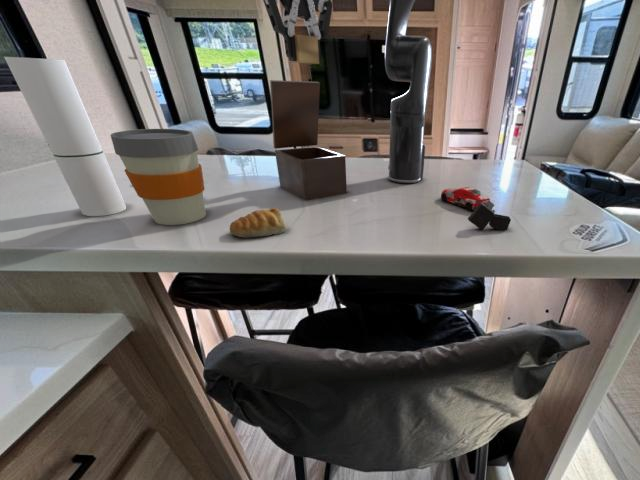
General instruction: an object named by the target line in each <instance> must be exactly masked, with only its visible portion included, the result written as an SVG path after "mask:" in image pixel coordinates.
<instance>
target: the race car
mask: <svg viewBox="0 0 640 480" xmlns="http://www.w3.org/2000/svg"><path fill="white" fill-rule="evenodd" d="M440 194H441V195H440V199H441V201H442V202H444V203H446V202H449V203H451V204H454V205H457V206H459V207H463V208H465V209H466V210H467V211H469V212H470V211H475V209H476V208H477V207H478V205H479V204H480V203H482V204H484V205H485V203H486V202H487V201H489V202H491V199H490V197H489V196H488V195H486V194H485V193H483V192H482V191H480V190H479V189H477V188H474V187H471V186H465V187H461V188H455V187H454V188H452V187H451V188H445V189H443V190H442V191H441V193H440ZM485 206H486V205H485Z"/></svg>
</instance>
